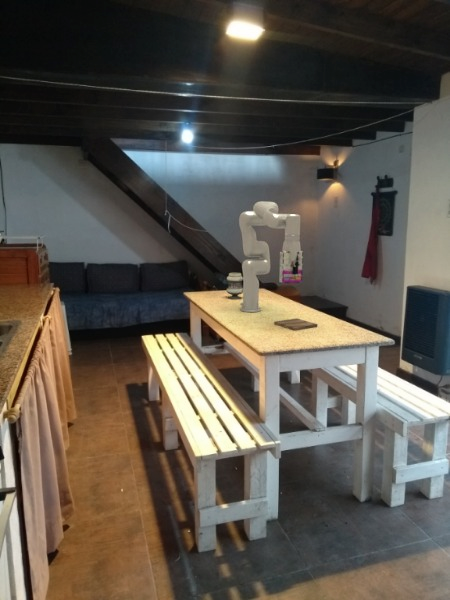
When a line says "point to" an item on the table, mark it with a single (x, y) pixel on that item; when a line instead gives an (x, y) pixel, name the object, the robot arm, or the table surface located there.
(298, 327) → the walnut board
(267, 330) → the table surface
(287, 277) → the candy bar box
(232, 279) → the apothecary jar
